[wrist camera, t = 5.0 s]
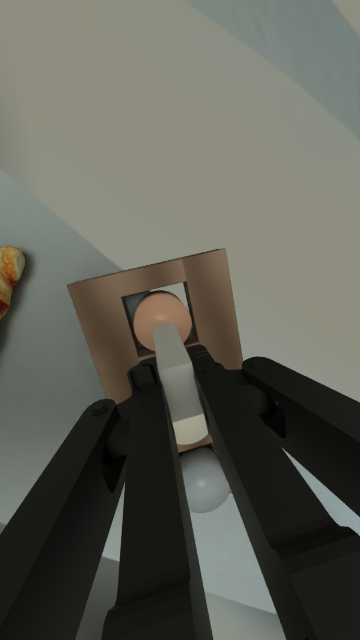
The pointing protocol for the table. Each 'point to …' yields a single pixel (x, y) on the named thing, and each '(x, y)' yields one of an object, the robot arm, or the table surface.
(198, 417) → the cream button
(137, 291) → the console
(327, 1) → the table surface
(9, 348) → the table surface
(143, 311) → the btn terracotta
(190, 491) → the slate button
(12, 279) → the croissant
